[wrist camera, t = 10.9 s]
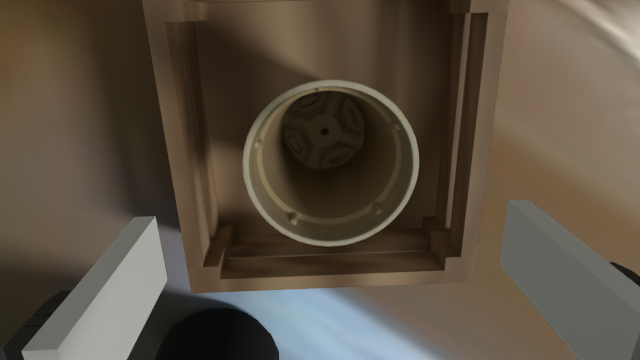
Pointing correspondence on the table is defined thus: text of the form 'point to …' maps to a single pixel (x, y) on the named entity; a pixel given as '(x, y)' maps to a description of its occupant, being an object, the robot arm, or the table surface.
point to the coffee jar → (218, 338)
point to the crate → (321, 64)
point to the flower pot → (330, 163)
